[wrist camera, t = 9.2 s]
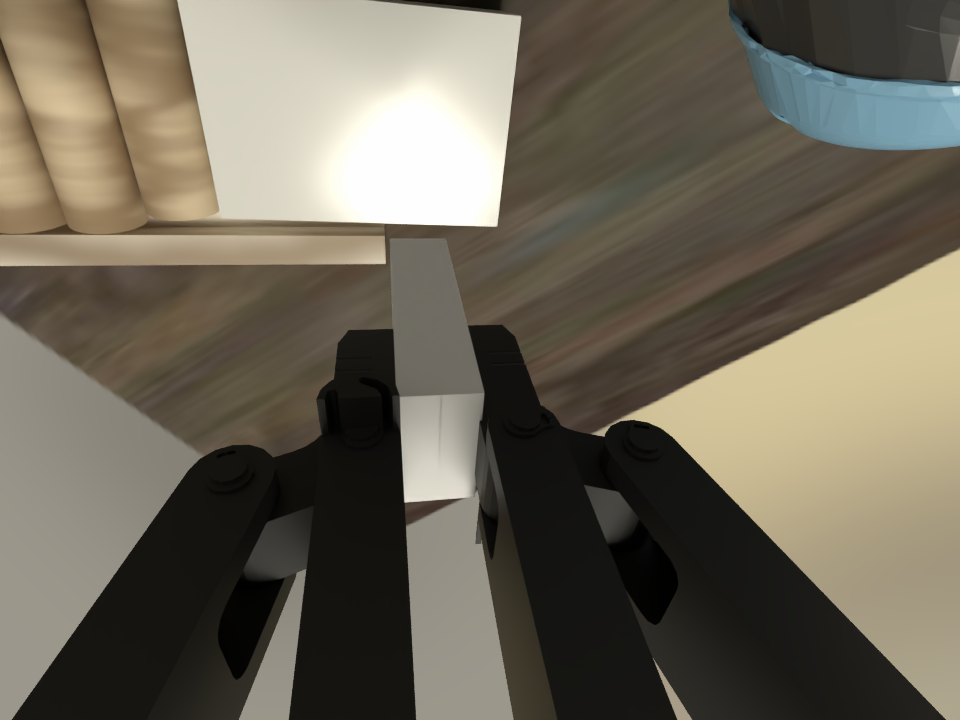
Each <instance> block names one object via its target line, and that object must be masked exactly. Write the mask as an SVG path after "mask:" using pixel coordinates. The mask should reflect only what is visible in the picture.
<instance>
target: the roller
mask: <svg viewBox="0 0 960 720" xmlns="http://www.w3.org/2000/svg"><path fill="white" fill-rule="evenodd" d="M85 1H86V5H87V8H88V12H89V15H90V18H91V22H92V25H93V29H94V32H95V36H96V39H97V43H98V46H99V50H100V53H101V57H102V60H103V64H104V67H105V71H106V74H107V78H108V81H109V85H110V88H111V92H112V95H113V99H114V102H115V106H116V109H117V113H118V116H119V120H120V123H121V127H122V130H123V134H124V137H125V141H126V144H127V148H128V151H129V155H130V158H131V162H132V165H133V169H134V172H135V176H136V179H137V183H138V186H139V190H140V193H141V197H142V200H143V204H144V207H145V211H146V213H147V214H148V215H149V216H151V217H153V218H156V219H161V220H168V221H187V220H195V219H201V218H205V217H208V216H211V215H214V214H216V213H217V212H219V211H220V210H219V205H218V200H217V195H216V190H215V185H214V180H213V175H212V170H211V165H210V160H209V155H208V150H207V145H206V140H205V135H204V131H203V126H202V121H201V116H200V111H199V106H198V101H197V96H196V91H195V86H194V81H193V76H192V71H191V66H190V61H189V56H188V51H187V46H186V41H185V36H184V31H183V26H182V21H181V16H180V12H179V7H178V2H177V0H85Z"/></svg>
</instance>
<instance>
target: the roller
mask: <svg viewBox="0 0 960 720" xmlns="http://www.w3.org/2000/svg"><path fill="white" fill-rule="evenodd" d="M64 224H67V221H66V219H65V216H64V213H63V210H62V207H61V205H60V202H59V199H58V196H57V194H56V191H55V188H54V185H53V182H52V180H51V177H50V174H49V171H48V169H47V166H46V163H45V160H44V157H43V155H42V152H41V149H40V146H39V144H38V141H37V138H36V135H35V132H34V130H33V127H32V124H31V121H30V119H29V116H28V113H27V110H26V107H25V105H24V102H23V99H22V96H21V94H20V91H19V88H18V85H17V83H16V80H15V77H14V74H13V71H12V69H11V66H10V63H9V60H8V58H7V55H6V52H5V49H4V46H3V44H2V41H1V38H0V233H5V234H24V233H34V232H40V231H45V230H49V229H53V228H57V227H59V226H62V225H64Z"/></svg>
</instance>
